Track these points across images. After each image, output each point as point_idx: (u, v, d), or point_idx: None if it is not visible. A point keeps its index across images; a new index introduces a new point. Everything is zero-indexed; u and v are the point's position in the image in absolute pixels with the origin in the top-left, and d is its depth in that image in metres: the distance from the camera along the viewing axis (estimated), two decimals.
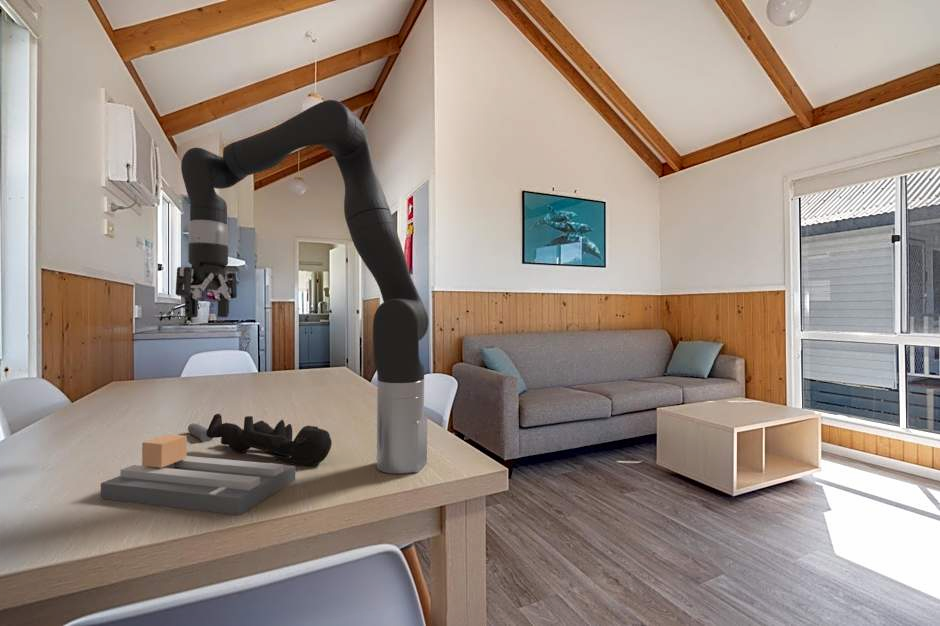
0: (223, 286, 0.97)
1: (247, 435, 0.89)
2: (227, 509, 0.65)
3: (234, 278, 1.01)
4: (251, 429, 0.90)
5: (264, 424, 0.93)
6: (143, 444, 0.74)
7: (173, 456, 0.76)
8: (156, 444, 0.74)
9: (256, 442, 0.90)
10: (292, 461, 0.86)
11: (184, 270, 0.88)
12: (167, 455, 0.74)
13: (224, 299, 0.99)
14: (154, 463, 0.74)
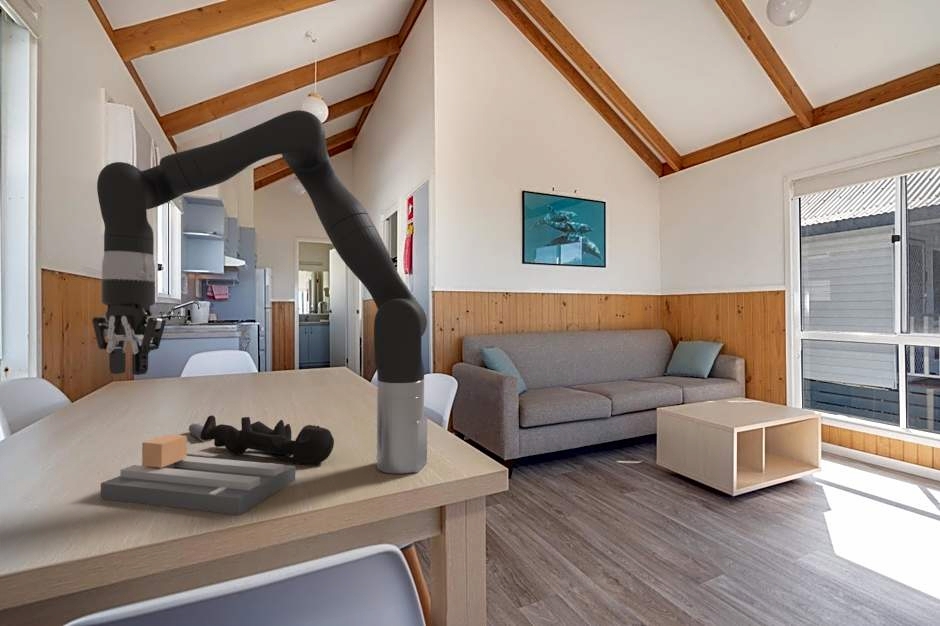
0: None
1: (246, 436, 0.88)
2: (227, 509, 0.65)
3: None
4: (250, 430, 0.89)
5: (262, 425, 0.93)
6: (143, 444, 0.74)
7: (173, 456, 0.76)
8: (156, 444, 0.74)
9: (255, 443, 0.89)
10: (294, 460, 0.87)
11: (162, 323, 0.77)
12: (167, 455, 0.74)
13: (121, 351, 0.79)
14: (154, 463, 0.74)
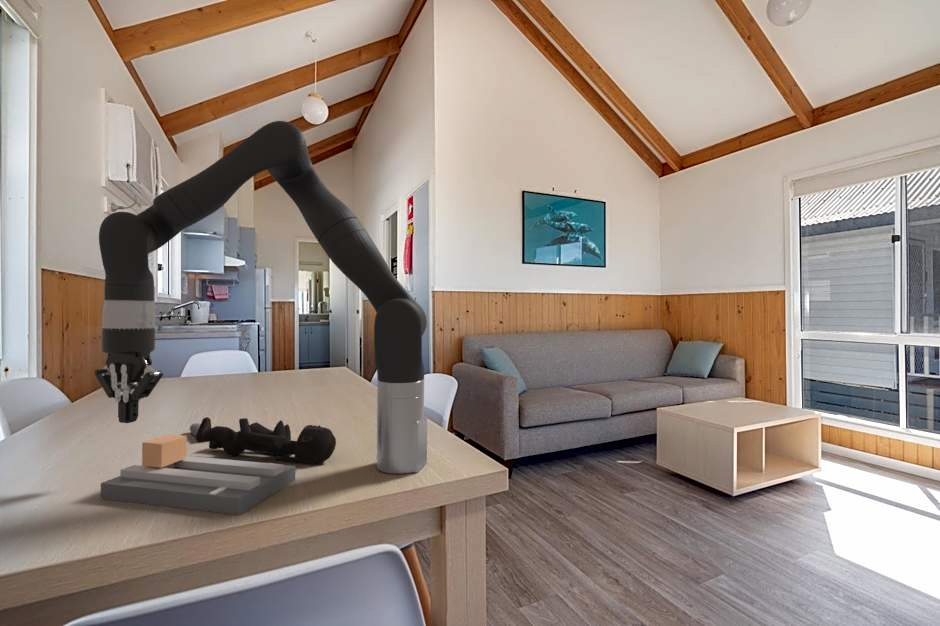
0: None
1: (246, 437, 0.87)
2: (227, 509, 0.65)
3: None
4: (249, 431, 0.89)
5: (260, 426, 0.92)
6: (143, 444, 0.74)
7: (173, 456, 0.76)
8: (156, 444, 0.74)
9: (255, 444, 0.89)
10: (296, 460, 0.87)
11: (158, 377, 0.77)
12: (167, 455, 0.74)
13: None
14: (154, 463, 0.74)
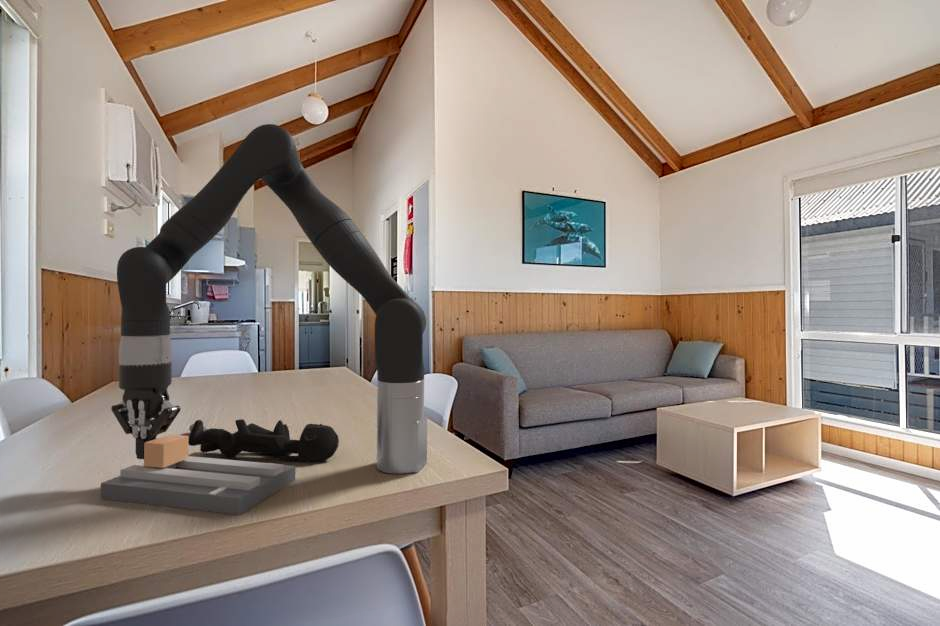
0: None
1: (247, 438, 0.87)
2: (227, 509, 0.65)
3: None
4: (249, 432, 0.88)
5: (257, 426, 0.92)
6: (145, 444, 0.74)
7: (175, 456, 0.75)
8: (158, 444, 0.73)
9: (254, 444, 0.88)
10: (300, 459, 0.88)
11: (176, 412, 0.76)
12: (169, 455, 0.74)
13: None
14: (156, 463, 0.73)
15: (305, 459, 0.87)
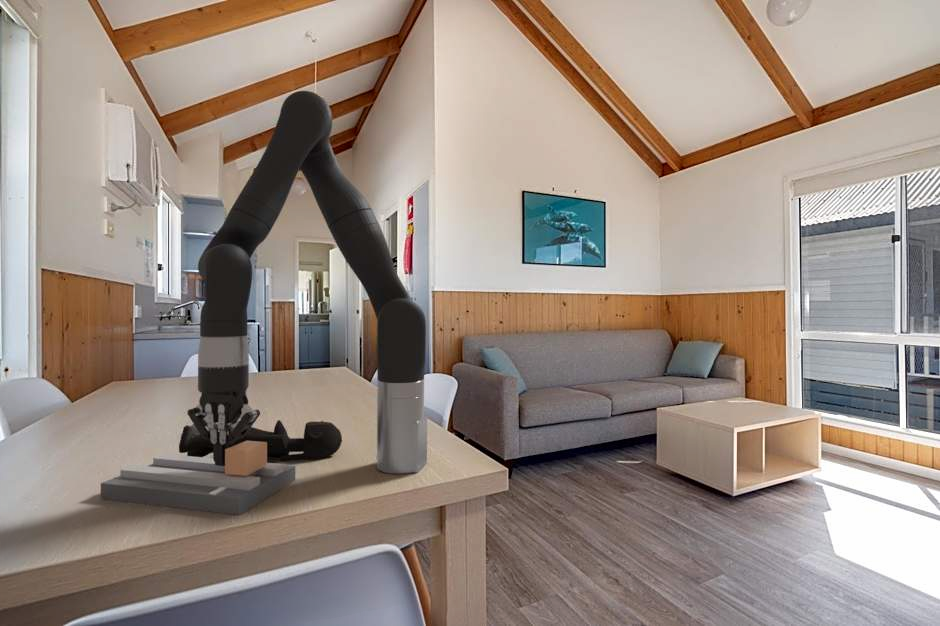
0: None
1: (250, 439, 0.86)
2: (227, 509, 0.65)
3: None
4: (251, 433, 0.87)
5: (253, 428, 0.90)
6: (226, 451, 0.71)
7: (256, 463, 0.72)
8: (240, 451, 0.70)
9: None
10: (306, 456, 0.89)
11: (256, 417, 0.73)
12: (251, 462, 0.71)
13: None
14: (238, 471, 0.70)
15: (311, 456, 0.89)
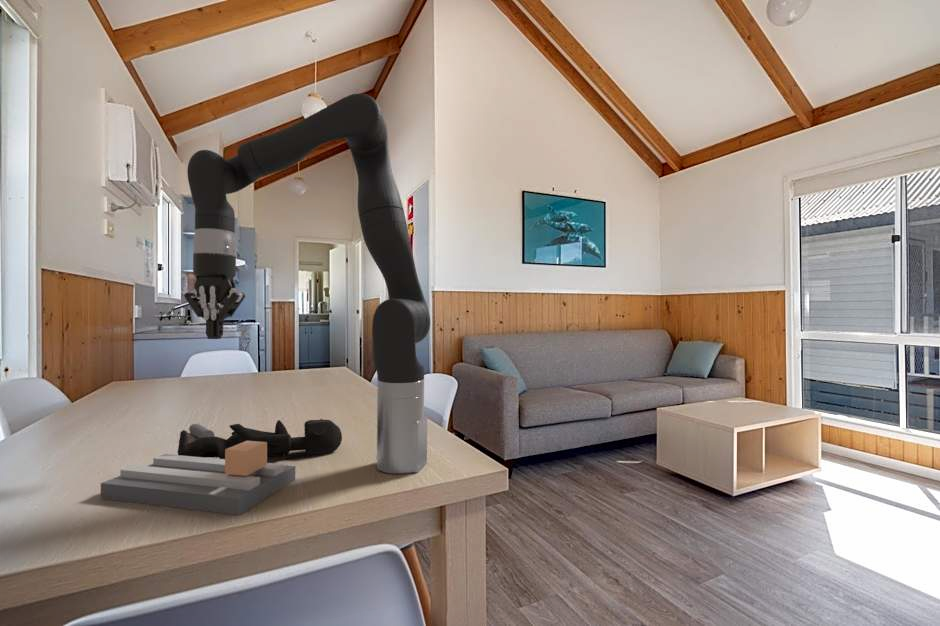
0: None
1: (255, 440, 0.85)
2: (227, 509, 0.65)
3: None
4: (255, 434, 0.86)
5: (253, 429, 0.89)
6: (226, 451, 0.71)
7: (256, 463, 0.72)
8: (240, 451, 0.70)
9: None
10: (310, 454, 0.91)
11: (242, 298, 0.87)
12: (251, 462, 0.71)
13: None
14: (238, 471, 0.70)
15: (315, 453, 0.91)
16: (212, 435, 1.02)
